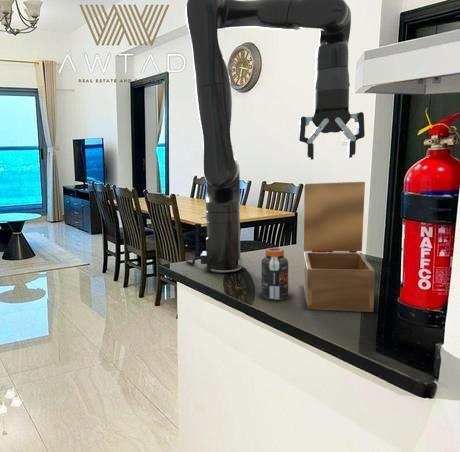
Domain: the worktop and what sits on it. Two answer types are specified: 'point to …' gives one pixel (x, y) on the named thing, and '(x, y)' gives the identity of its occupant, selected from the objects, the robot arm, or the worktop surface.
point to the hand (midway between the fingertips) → (330, 158)
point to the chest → (338, 281)
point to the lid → (333, 216)
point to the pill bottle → (275, 274)
